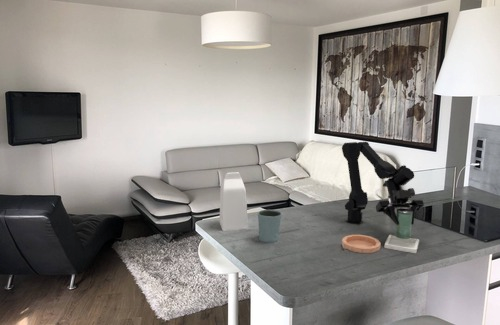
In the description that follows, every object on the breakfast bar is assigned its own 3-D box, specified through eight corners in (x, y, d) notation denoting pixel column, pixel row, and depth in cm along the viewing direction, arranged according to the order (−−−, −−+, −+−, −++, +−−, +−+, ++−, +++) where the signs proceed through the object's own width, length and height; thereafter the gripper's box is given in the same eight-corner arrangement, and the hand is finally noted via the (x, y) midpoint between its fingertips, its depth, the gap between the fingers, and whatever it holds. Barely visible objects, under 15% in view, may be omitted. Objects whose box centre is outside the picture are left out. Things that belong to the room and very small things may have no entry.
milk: (222, 230, 185) (221, 176, 180) (219, 222, 196) (218, 170, 191) (248, 228, 187) (247, 174, 182) (243, 220, 198) (243, 169, 193)
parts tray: (384, 250, 162) (384, 244, 162) (388, 240, 173) (389, 234, 172) (415, 255, 157) (416, 249, 157) (418, 245, 167) (419, 239, 167)
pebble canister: (393, 237, 163) (395, 211, 161) (395, 232, 168) (397, 207, 166) (409, 240, 160) (411, 213, 158) (411, 235, 165) (413, 209, 163)
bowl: (338, 250, 162) (338, 244, 161) (347, 238, 175) (347, 232, 174) (376, 258, 155) (376, 251, 154) (382, 244, 168) (383, 238, 167)
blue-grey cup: (254, 236, 177) (254, 210, 175) (274, 233, 181) (274, 208, 179) (264, 244, 168) (264, 217, 166) (285, 241, 172) (285, 214, 170)
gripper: (380, 181, 163) (389, 216, 154) (424, 180, 164) (436, 214, 156) (371, 195, 172) (380, 228, 163) (413, 194, 174) (424, 227, 165)
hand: (405, 224), depth 162 cm, fingers closed on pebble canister, 6 cm apart
